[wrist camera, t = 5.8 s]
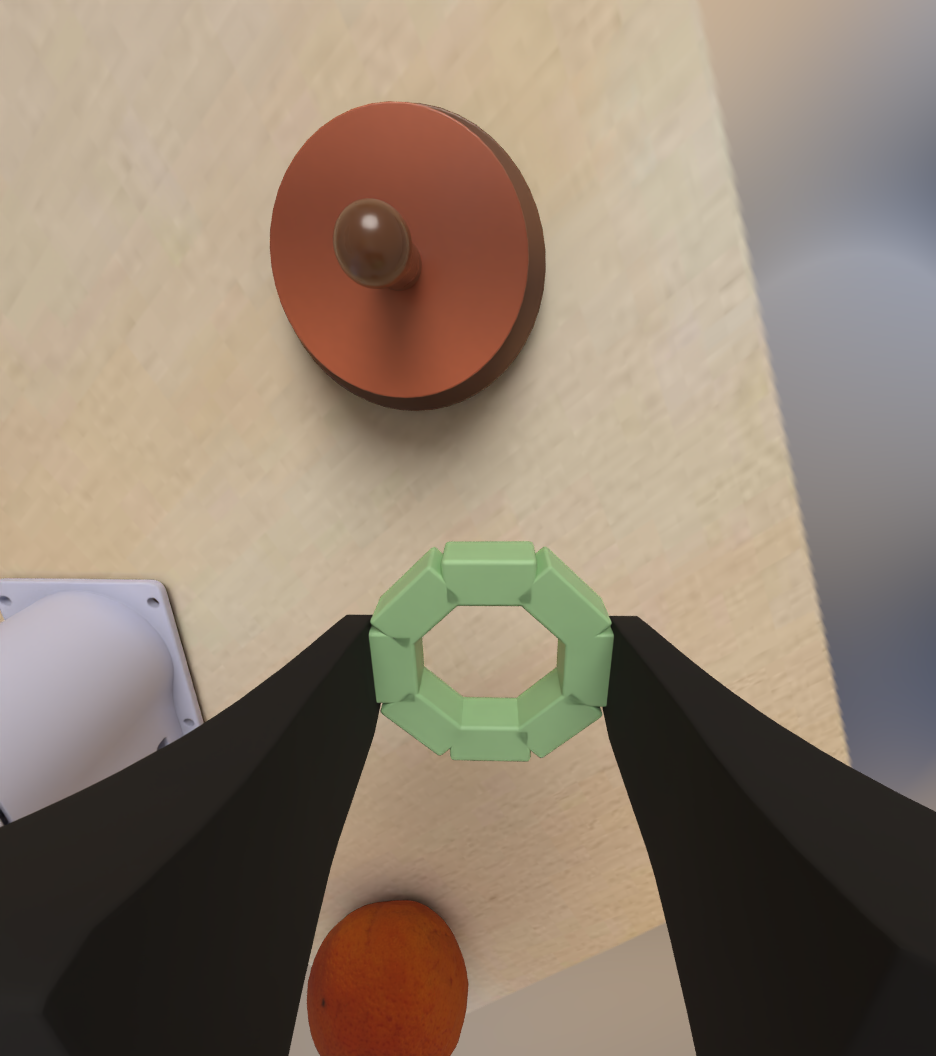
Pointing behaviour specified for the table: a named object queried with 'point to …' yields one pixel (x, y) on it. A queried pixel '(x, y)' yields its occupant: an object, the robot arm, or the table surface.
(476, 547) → the ring
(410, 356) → the stand
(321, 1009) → the fruit
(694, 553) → the table surface
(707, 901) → the robot arm
